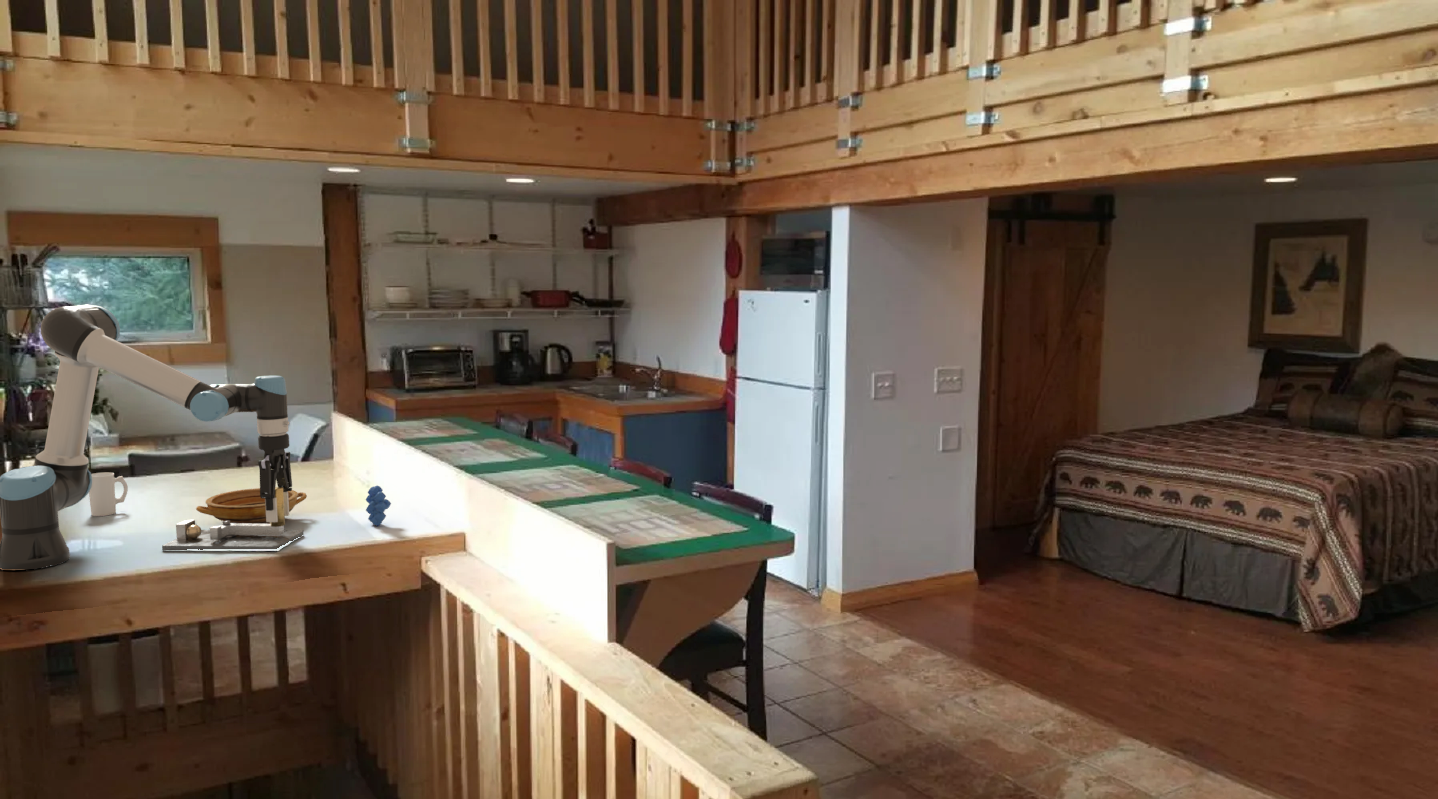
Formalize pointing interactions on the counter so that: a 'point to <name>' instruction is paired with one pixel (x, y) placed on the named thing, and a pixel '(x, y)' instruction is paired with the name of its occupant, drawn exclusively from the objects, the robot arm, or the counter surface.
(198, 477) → the counter surface
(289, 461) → the robot arm
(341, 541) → the counter surface
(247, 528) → the lever
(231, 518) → the ceramic bowl
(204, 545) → the base
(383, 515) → the grapes
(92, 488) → the mug
